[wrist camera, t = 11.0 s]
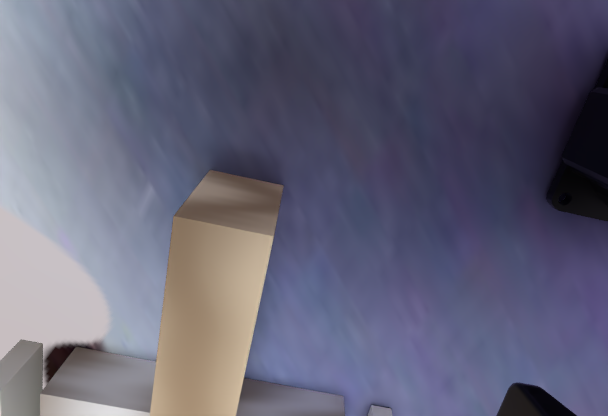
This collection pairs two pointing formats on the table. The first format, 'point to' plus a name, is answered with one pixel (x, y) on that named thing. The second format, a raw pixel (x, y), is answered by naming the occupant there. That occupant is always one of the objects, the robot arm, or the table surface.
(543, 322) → the table surface
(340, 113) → the table surface
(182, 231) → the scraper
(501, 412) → the robot arm
